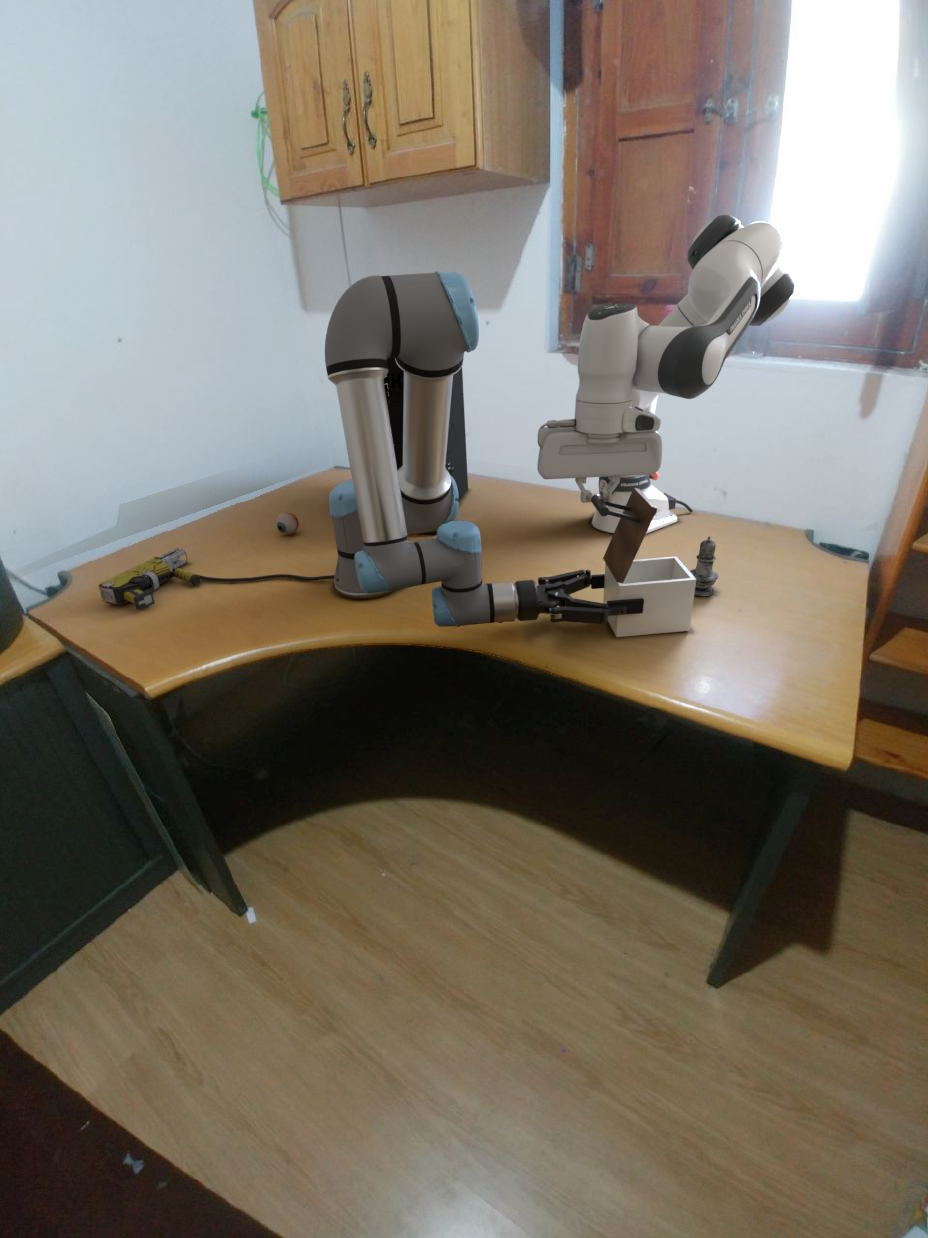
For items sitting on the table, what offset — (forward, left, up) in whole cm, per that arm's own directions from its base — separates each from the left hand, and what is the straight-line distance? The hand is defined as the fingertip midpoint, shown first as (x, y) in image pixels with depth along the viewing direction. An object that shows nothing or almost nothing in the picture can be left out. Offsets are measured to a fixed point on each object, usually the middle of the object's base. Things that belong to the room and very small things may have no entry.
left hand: (633, 592), depth 113 cm
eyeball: (-94, +22, -7) cm, 97 cm away
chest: (+3, +1, -6) cm, 7 cm away
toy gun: (-104, -13, -7) cm, 105 cm away
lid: (-1, -1, +11) cm, 12 cm away
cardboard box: (-67, +49, -7) cm, 83 cm away
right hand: (-7, -3, +18) cm, 20 cm away
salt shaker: (+12, +17, -7) cm, 22 cm away
